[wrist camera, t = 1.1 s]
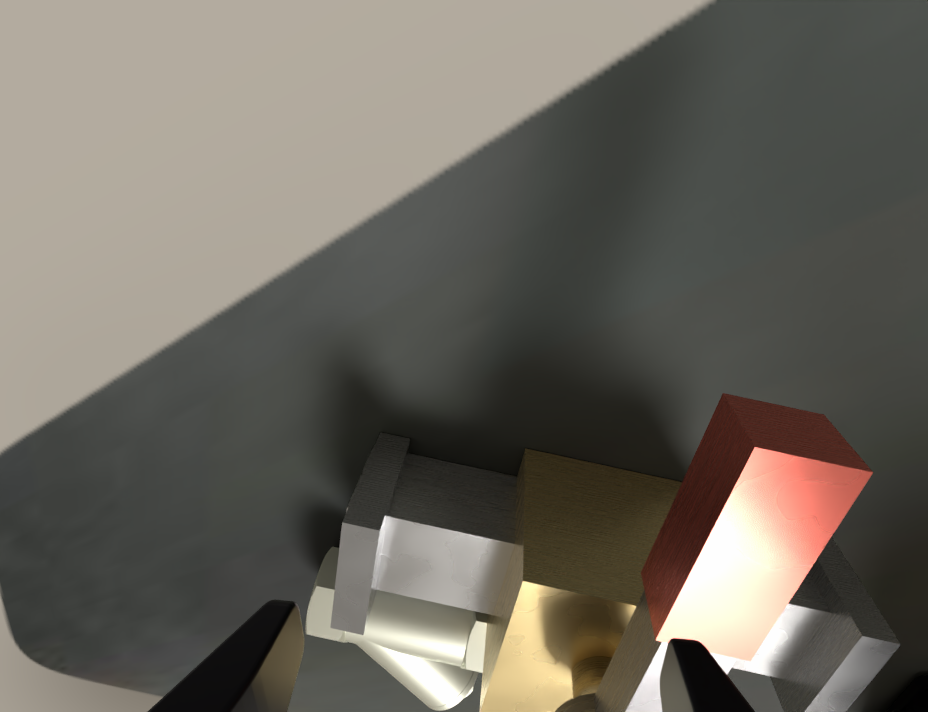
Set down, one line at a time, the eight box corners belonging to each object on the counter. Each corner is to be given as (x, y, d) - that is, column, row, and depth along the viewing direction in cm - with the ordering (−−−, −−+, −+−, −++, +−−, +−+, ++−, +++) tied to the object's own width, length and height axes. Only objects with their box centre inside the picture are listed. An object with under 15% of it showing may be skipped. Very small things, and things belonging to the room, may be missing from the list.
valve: (840, 516, 22) (990, 733, 15) (769, 627, 25) (865, 853, 17) (377, 416, 22) (302, 581, 15) (360, 537, 25) (291, 725, 18)
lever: (644, 772, 17) (656, 845, 15) (538, 748, 17) (538, 819, 15) (854, 421, 11) (908, 479, 10) (693, 386, 11) (719, 439, 10)
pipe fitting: (486, 654, 28) (516, 567, 25) (478, 739, 25) (511, 652, 21) (329, 620, 28) (336, 528, 25) (300, 700, 25) (303, 607, 22)
